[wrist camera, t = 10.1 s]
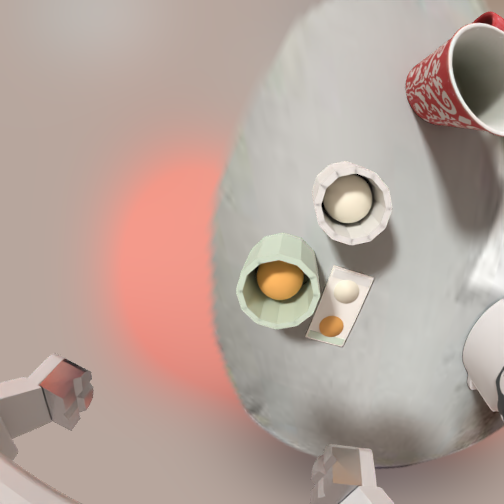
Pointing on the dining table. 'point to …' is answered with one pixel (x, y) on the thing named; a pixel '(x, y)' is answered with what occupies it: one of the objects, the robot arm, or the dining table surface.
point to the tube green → (270, 309)
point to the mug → (463, 79)
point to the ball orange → (279, 279)
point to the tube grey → (351, 203)
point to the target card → (339, 306)
